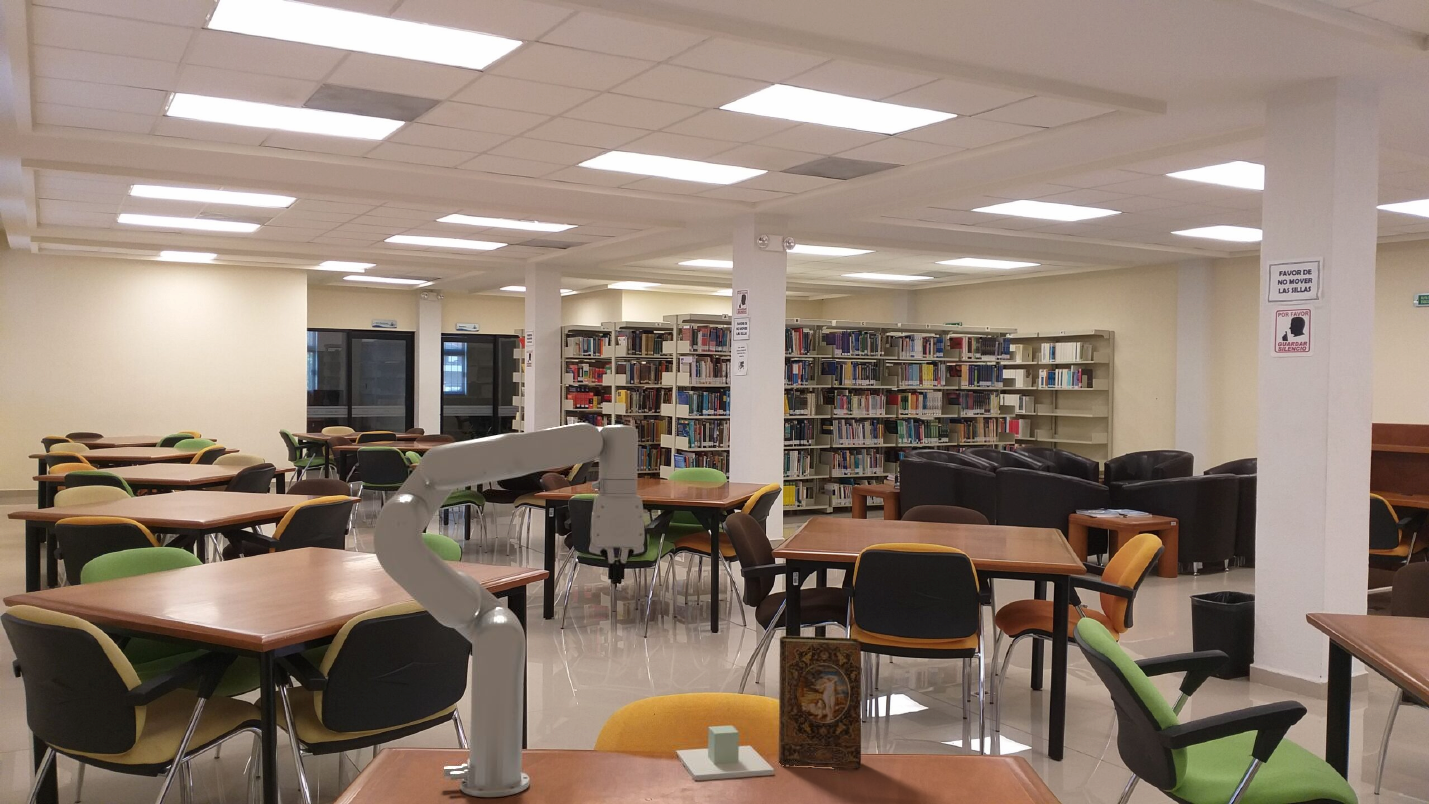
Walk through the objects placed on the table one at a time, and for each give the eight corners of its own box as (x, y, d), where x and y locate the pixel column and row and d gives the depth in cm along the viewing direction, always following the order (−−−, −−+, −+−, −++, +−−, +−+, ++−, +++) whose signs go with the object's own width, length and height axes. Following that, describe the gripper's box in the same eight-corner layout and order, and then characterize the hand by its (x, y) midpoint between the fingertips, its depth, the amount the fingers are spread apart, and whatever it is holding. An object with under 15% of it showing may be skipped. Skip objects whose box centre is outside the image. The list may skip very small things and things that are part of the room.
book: (778, 767, 194) (779, 640, 195) (779, 758, 199) (780, 635, 201) (861, 770, 192) (861, 643, 194) (859, 762, 198) (860, 638, 199)
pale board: (694, 780, 185) (694, 775, 185) (675, 755, 200) (676, 750, 200) (774, 774, 189) (774, 769, 189) (749, 750, 204) (749, 745, 204)
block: (714, 764, 192) (714, 733, 192) (708, 756, 196) (708, 726, 197) (738, 762, 193) (738, 732, 193) (731, 755, 198) (732, 725, 198)
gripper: (582, 489, 183) (580, 586, 182) (659, 489, 187) (657, 585, 186) (577, 487, 191) (575, 581, 190) (651, 488, 194) (650, 580, 193)
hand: (616, 583), depth 188 cm, fingers closed
